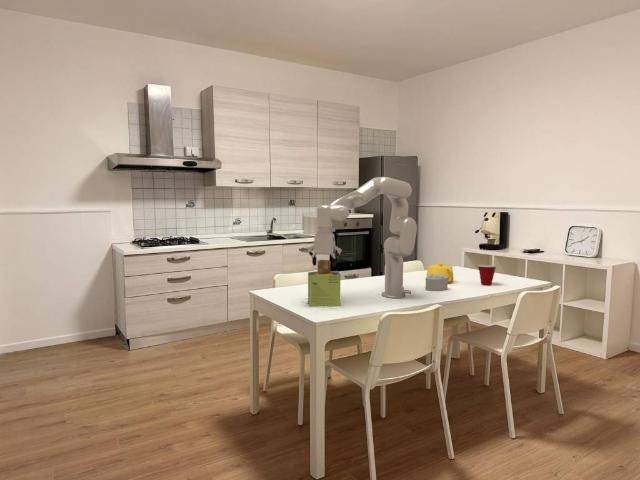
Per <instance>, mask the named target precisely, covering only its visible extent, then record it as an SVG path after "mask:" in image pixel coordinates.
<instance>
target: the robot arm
mask: <svg viewBox="0 0 640 480" xmlns="http://www.w3.org/2000/svg"><path fill="white" fill-rule="evenodd" d="M412 192H413V189H412V186H411V185H410V183H408V182H407V181H405V180H404V181H403V180H400V179H395V178H392V177H388V176H379V177H374V178H372V179H370V180H368V181H367V182H366V183H364V184H363V185H361V186H359V187H358V188H357V189H355V190H353V191H351V192H349V193H347V194H346V195H344V196H341V197H340V198H338V199H336V200H335V201H333V202H332V203H330V204H329V205H326V204H325V205H324V204H322V205H318V206H317V207H316V233H315V234H314V239H313V245H311V246H310V247H307V248H306V250H307V252H308V254H309V256H310V257H311V258H312V259H311V260H312V262H311V263H312V265H313V266H314V267H315V266H317V255H326V256H327V255H330V256H331V257H332V258H331V259H332V260H331V267H333V268H334V267H335V266H337V258H338V257H339V256H340V254H341V252H342V249H341V248H340V247H338V246H337V245H336V239H335V238H336V237H335V233H333V232H336V229H335V228H333V221H340V222H341V221H344V220H347V219H348V218H349V216H350V210H351V209H355V208H359V207H362V206H364V205H366V204H367V203H369V202H371V201H372V200H373V199H375V198H376V197H378V196H379V195H385V196H386V197H387V199H389V201H390V203H391V215H390V220H389V231H390V232H391V233H392V234H395V235H399V236H390V237H388V238H386V240H384V243H383V250H384V251H383V252H384V258H385V259H384V261H385V263H384V265H385V266H384V291H383V292H381V296H382V297H384V298H388V299H389V298H390V299H401V298H405V297H406V294H407V295H411V294H412V290H411V289H406V288H405V287H404V286H403V285H404V259H403V258H405V257H406V258H407V257H409V256H411V255H412V253H413V251H414V249H415V243H416V237H417V231H418V225H417V222H416V221H415V219H414V218H412V217H410V216H408V215H409V203H408V200H407V199H408V198H409V197H410V196H411V195H412ZM312 250H313V251H312ZM336 251H337V253H336ZM313 266H312V267H313Z"/></svg>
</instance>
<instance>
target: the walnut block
mask: <svg viewBox="0 0 640 480" xmlns="http://www.w3.org/2000/svg"><path fill="white" fill-rule="evenodd" d="M316 266H317V268H316V269H317V273H319V274H328V273H330V271H331V260H330V259H329V260H328V259H319V260H317V265H316Z"/></svg>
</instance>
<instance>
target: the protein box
mask: <svg viewBox="0 0 640 480" xmlns="http://www.w3.org/2000/svg"><path fill="white" fill-rule="evenodd" d="M307 273H308V274H307V284H308V285H307V304H308V307H341V273H340V271H338V270H333V271H332V270H330V273H328V274H319V273H317V271H314V270H313V271H308V272H307Z"/></svg>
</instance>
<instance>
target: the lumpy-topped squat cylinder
mask: <svg viewBox="0 0 640 480" xmlns="http://www.w3.org/2000/svg"><path fill="white" fill-rule="evenodd" d="M448 284H449V283H448V277H446V276H445V275H442V274H435V275H433V274H429V275H428V276H427V275H426V277H425V286H424V287H425V291H427V292H443V291H444V292H445V291H447V290H448Z"/></svg>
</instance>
